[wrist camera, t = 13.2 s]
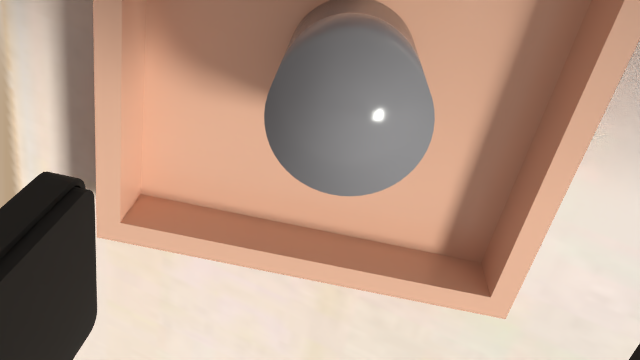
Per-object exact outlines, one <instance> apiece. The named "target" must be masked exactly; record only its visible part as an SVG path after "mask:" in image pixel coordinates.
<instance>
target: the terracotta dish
mask: <svg viewBox="0 0 640 360" xmlns="http://www.w3.org/2000/svg"><path fill="white" fill-rule="evenodd" d="M327 1H330V0H93V38H94V97H95V156H96V214H97V237H98V238H103V239H108V240H113V241H118V242H123V243H128V244H133V245H138V246H143V247H148V248H153V249H158V250H163V251H168V252H173V253H178V254H183V255H188V256H193V257H198V258H203V259H208V260H213V261H218V262H223V263H228V264H233V265H238V266H243V267H248V268H253V269H258V270H263V271H268V272H273V273H278V274H283V275H288V276H293V277H298V278H303V279H308V280H313V281H318V282H323V283H328V284H333V285H338V286H343V287H348V288H353V289H358V290H363V291H368V292H373V293H378V294H383V295H388V296H393V297H398V298H403V299H408V300H413V301H418V302H423V303H428V304H433V305H438V306H443V307H448V308H453V309H458V310H463V311H468V312H472V313H477V314H482V315H487V316H492V317H497V318H502V319H506V317H507V315H508V313H509V311H510V309H511V306H512V304H513V302H514V300H515V298H516V296H517V294H518V292H519V290H520V288H521V286H522V284H523V281H524V279H525V277H526V275H527V273H528V271H529V269H530V267H531V265H532V263H533V261H534V259H535V256H536V254H537V252H538V250H539V248H540V246H541V244H542V242H543V240H544V238H545V236H546V233H547V231H548V229H549V227H550V225H551V223H552V221H553V219H554V217H555V215H556V213H557V211H558V208H559V206H560V204H561V202H562V200H563V198H564V196H565V194H566V192H567V190H568V188H569V186H570V183H571V181H572V179H573V177H574V175H575V173H576V171H577V169H578V167H579V165H580V163H581V160H582V158H583V156H584V154H585V152H586V150H587V148H588V146H589V144H590V142H591V140H592V138H593V135H594V133H595V131H596V129H597V127H598V125H599V123H600V121H601V119H602V117H603V115H604V113H605V110H606V108H607V106H608V104H609V102H610V100H611V98H612V96H613V94H614V92H615V90H616V88H617V85H618V83H619V81H620V79H621V77H622V75H623V73H624V71H625V69H626V67H627V65H628V62H629V60H630V58H631V56H632V54H633V52H634V50H635V48H636V46H637V44H638V42H639V40H640V0H376V1H378V2H380V3H382V4H384V5H386V6H387V7H389V8H390V9H392V10H393V11H394V12H395V13H396V14H398V15H399V17H400V18H401V19H402V20H403V21H404V23H405V24H406V26H407V27H408V29H409V31H410V33H411V35H412V38H413V41H414V44H415V47H416V50H417V53H418V56H419V59H420V62H421V65H422V68H423V71H424V74H425V78H426V81H427V84H428V87H429V90H430V93H431V96H432V99H433V105H434V113H435V122H434V131H433V135H432V139H431V142H430V144H429V147H428V149H427V151H426V153H425V155H424V156H423V158H422V160H421V161H420V162H419V164H418V165H417V166H416V167H415V168H414V169H413V170H412V171H411V172H410V173H409V174H408V175H407V176H406V177H405V178H403V179H402V180H401V181H399V182H398V183H396V184H394V185H393V186H391V187H389V188H386V189H384V190H382V191H379V192H376V193H372V194H367V195H362V196H338V195H331V194H327V193H323V192H320V191H318V190H315V189H312V188H310V187H308V186H307V185H305V184H303V183H301V182H300V181H298V180H297V179H296V178H294V177H293V176H292V175H291V174H290V173H289V172H287V171H286V170H285V168H284V167H283V166H282V165H281V164H280V162H279V161H278V159H277V158H276V156H275V155H274V153H273V151H272V149H271V147H270V145H269V142H268V139H267V136H266V131H265V124H264V111H265V103H266V99H267V95H268V92H269V90H270V87H271V85H272V82H273V80H274V78H275V75H276V73H277V71H278V68H279V66H280V64H281V61H282V59H283V57H284V54H285V52H286V50H287V47H288V45H289V43H290V40H291V38H292V36H293V33H294V31H295V30H296V28H297V26H298V25H299V23H300V22H301V21H302V19H303V18H304V17H305V16H306V15H307V14H308V13H309V12H311V11H312V10H313V9H314V8H316V7H317V6H319V5H321V4H323V3H325V2H327Z"/></svg>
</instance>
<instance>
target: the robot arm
mask: <svg viewBox="0 0 640 360" xmlns="http://www.w3.org/2000/svg"><path fill="white" fill-rule="evenodd" d="M96 315H97V287H96V245H95V204H94V194H93V192H92V191H91V190H87V189H85V184H84V182H83V181H82V180H81V179H79V178H74V177H69V176H65V175H60V174H56V173H51V172H43V173H41V174H40V175H38V176H37V177H36V178H35V179H34V180H32V181H31V182H30V183H29V184H28V185H27V186H26V187H24V188H23V189H22V190H21V191H20V192H19V193H17V194H16V195H15V196H14V197H13V198H12V199H11V200H9V201H8V202H7V203H6V204H5V205H4V206H3V207H1V208H0V360H73V358H74V357H75V355H76V354H77V352H78V351H79V349H80V348H81V346H82V345H83V343H84V342H85V340H86V338H87V337H88V335H89V334H90V332H91V330H92V328H93V326H94V323H95V320H96ZM629 360H640V344H639V345H638V347H637V348H636V350H635V351H634V353H633V354H632V356H631V357H630V359H629Z"/></svg>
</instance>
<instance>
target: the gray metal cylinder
mask: <svg viewBox="0 0 640 360" xmlns="http://www.w3.org/2000/svg"><path fill="white" fill-rule="evenodd" d="M434 122H435V113H434V105H433V99H432V96H431V93H430V90H429V87H428V84H427V81H426V78H425V74H424V71H423V68H422V65H421V62H420V59H419V56H418V53H417V50H416V47H415V44H414V41H413V38H412V35H411V33H410V31H409V29H408V27H407V26H406V24H405V23H404V21H403V20H402V19H401V18H400V17H399V15H398V14H396V13H395V12H394V11H393V10H392V9H390V8H389V7H387V6H386V5H384V4H382V3H380V2H378V1H376V0H330V1H327V2H325V3H323V4H321V5H319V6H317V7H316V8H314V9H313V10H312V11H311V12H309V13H308V14H307V15H306V16H305V17H304V18H303V19H302V21H301V22H300V23H299V25H298V26H297V28H296V30H295V31H294V33H293V36H292V38H291V40H290V43H289V45H288V47H287V50H286V52H285V54H284V57H283V59H282V61H281V64H280V66H279V68H278V71H277V73H276V75H275V78H274V80H273V82H272V85H271V87H270V90H269V92H268V95H267V99H266V103H265V111H264V124H265V131H266V136H267V139H268V142H269V145H270V147H271V149H272V151H273V153H274V155H275V156H276V158H277V159H278V161H279V162H280V164H281V165H282V166H283V167H284V168H285V170H286V171H287V172H289V173H290V174H291V175H292V176H293V177H294V178H296V179H297V180H298V181H300V182H301V183H303V184H305V185H307V186H308V187H310V188H312V189H315V190H318V191H320V192H323V193H327V194H331V195H338V196H362V195H367V194H372V193H376V192H379V191H382V190H384V189H386V188H389V187H391V186H393V185H394V184H396V183H398V182H399V181H401V180H402V179H403V178H405V177H406V176H407V175H408V174H409V173H410V172H411V171H412V170H413V169H414V168H415V167H416V166H417V165H418V164H419V162H420V161H421V160H422V158H423V156H424V155H425V153H426V151H427V149H428V147H429V144H430V142H431V139H432V135H433V131H434Z"/></svg>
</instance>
